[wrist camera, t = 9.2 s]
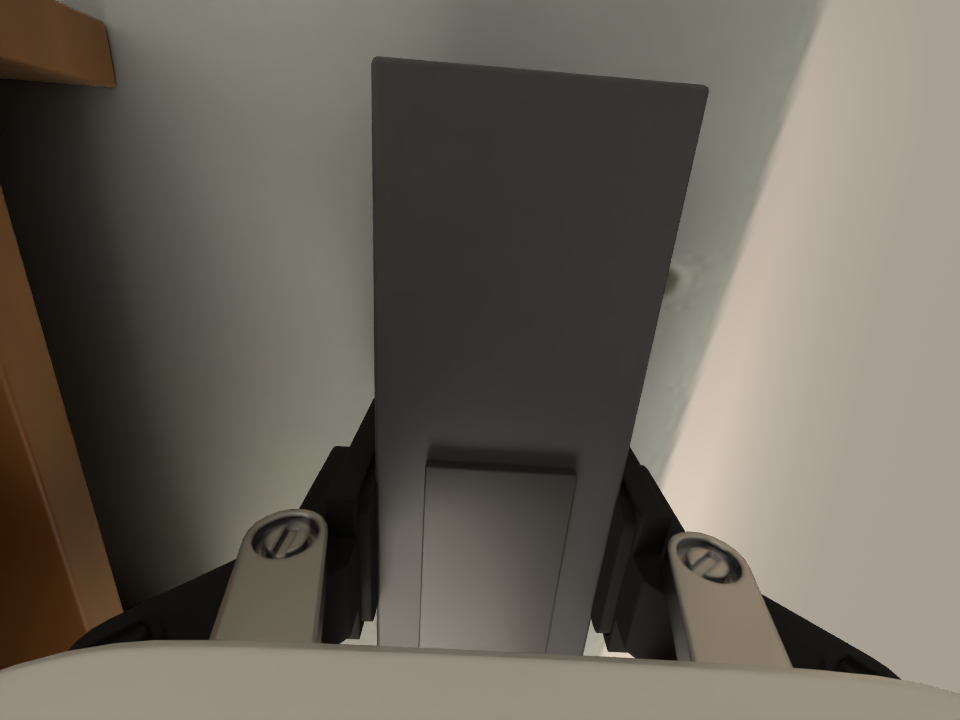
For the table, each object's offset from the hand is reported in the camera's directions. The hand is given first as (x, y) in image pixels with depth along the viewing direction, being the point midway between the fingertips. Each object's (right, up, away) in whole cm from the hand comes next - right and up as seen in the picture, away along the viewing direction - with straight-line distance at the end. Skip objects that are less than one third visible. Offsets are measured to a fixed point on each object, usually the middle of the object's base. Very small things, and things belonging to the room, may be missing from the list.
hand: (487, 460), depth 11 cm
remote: (0, 0, 0) cm, 0 cm away
